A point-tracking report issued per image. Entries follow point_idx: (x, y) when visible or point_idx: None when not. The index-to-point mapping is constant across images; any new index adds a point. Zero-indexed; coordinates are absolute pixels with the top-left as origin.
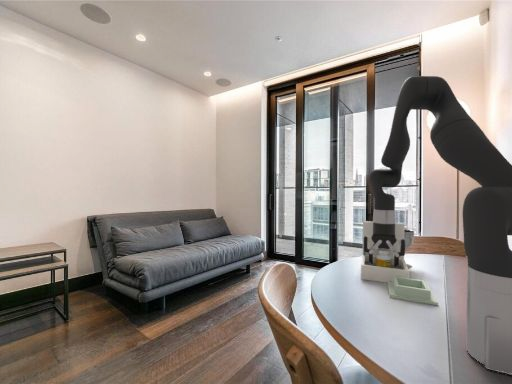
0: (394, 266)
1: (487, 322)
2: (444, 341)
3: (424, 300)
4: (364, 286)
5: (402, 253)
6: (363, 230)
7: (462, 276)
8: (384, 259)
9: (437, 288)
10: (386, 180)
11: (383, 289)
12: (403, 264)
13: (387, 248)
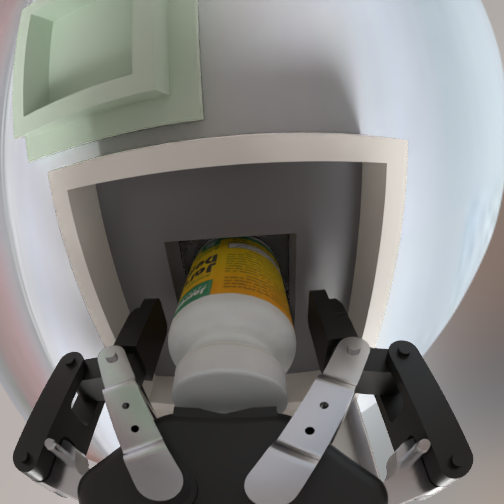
0: (158, 298)
1: None
2: None
3: None
4: (328, 19)
5: (69, 366)
6: None
7: (26, 362)
8: (217, 296)
9: (20, 203)
10: None
11: (225, 18)
12: (105, 319)
13: (182, 414)
